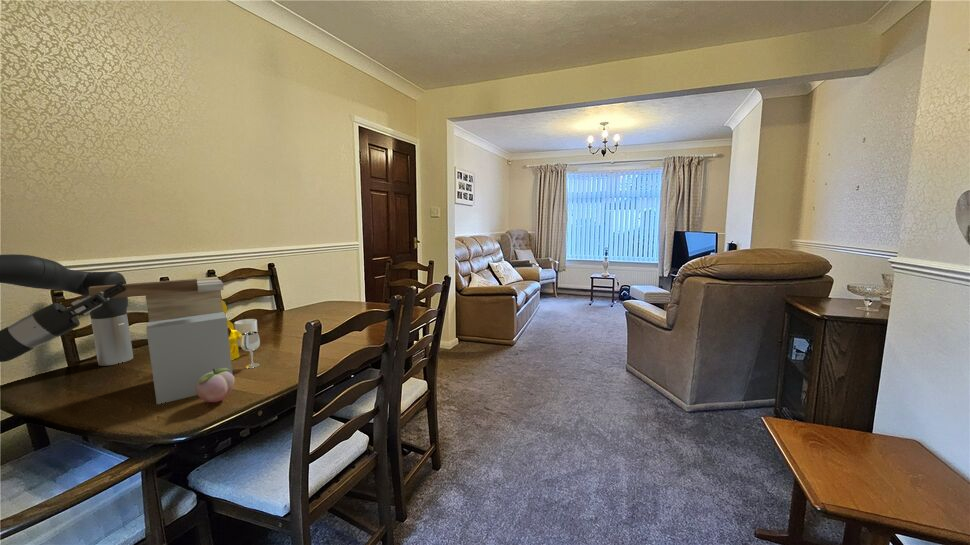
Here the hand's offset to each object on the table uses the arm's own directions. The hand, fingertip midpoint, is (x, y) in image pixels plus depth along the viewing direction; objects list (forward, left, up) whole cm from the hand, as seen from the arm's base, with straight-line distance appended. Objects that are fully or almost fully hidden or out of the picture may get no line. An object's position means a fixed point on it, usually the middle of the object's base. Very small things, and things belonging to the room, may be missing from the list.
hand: (124, 285), depth 99 cm
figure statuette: (-25, +23, -34) cm, 48 cm away
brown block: (0, +8, -3) cm, 8 cm away
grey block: (0, +13, -34) cm, 36 cm away
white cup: (-39, +31, -34) cm, 60 cm away
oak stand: (-13, +13, -34) cm, 38 cm away
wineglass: (-11, +29, -34) cm, 46 cm away
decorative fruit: (+13, +17, -34) cm, 40 cm away
